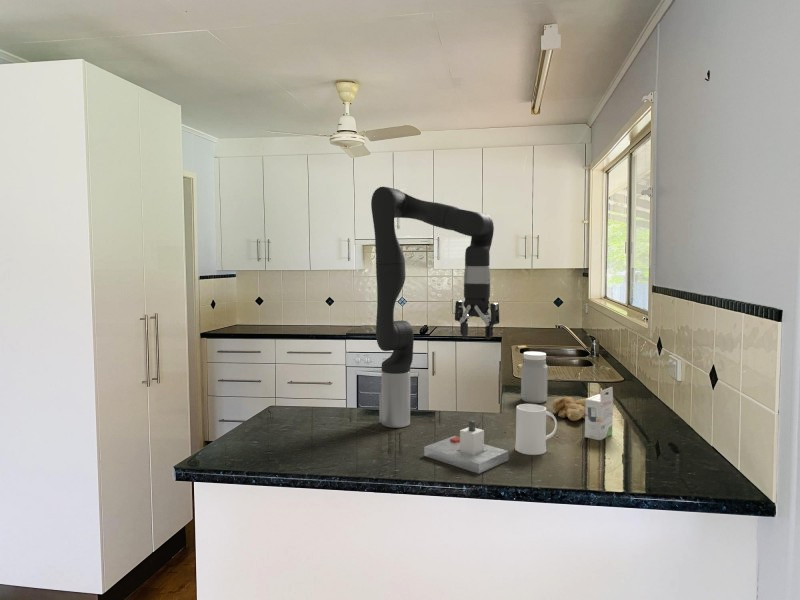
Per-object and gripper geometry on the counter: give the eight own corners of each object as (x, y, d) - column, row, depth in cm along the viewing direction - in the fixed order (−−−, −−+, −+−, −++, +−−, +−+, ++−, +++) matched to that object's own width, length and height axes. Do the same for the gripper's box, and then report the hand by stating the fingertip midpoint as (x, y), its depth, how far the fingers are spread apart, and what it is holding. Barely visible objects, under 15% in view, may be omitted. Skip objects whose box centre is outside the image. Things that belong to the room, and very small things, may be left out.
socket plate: (424, 455, 149) (424, 444, 149) (454, 444, 158) (454, 433, 158) (479, 473, 136) (479, 461, 136) (508, 460, 146) (508, 448, 145)
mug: (552, 444, 158) (553, 403, 158) (562, 454, 150) (563, 411, 149) (511, 444, 158) (512, 403, 157) (519, 455, 149) (519, 411, 149)
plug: (459, 460, 146) (460, 421, 145) (469, 455, 149) (470, 417, 148) (473, 464, 143) (473, 424, 142) (483, 459, 146) (484, 421, 145)
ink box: (597, 431, 171) (598, 383, 170) (612, 434, 167) (614, 386, 166) (583, 437, 165) (584, 388, 164) (599, 441, 161) (601, 391, 160)
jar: (552, 401, 207) (553, 353, 206) (534, 405, 202) (535, 356, 200) (532, 396, 215) (533, 350, 214) (515, 399, 210) (515, 352, 208)
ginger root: (566, 403, 199) (570, 383, 196) (602, 424, 186) (608, 403, 184) (535, 411, 190) (539, 390, 188) (571, 434, 178) (576, 412, 175)
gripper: (449, 281, 162) (449, 336, 164) (489, 283, 153) (489, 341, 154) (465, 280, 168) (464, 334, 169) (505, 282, 158) (504, 338, 159)
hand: (476, 337), depth 161 cm, fingers open, 8 cm apart
